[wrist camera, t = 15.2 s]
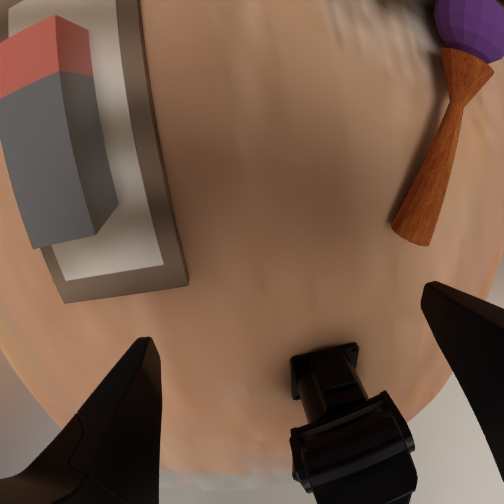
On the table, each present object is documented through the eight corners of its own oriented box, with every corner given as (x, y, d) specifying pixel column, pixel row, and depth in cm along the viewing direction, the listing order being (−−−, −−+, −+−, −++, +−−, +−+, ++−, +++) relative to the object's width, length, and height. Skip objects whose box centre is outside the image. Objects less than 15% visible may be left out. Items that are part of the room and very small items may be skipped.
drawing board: (189, 277, 22) (188, 287, 21) (68, 296, 21) (63, 305, 20) (136, -58, 10) (132, -66, 9) (5, -3, 10) (-4, -6, 9)
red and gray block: (118, 204, 18) (95, 235, 14) (64, 217, 17) (33, 249, 13) (88, 30, 12) (54, 14, 8) (32, 53, 12) (-10, 48, 8)
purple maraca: (389, 244, 18) (463, -37, 8) (366, 208, 23) (426, -18, 13) (456, 263, 19) (529, 12, 9) (425, 226, 24) (485, 18, 14)
